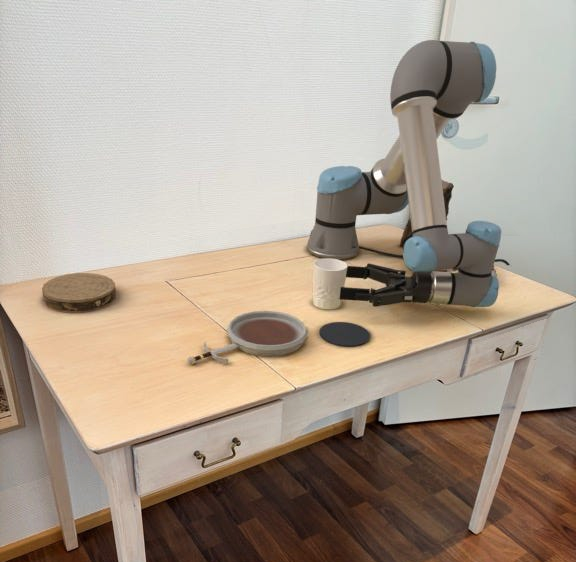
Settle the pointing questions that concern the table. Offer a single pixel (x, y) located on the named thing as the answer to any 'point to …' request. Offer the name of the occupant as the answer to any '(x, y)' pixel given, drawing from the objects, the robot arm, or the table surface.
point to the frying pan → (261, 335)
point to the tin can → (79, 292)
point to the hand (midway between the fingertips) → (338, 281)
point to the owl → (447, 196)
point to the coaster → (344, 334)
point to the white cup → (328, 282)
